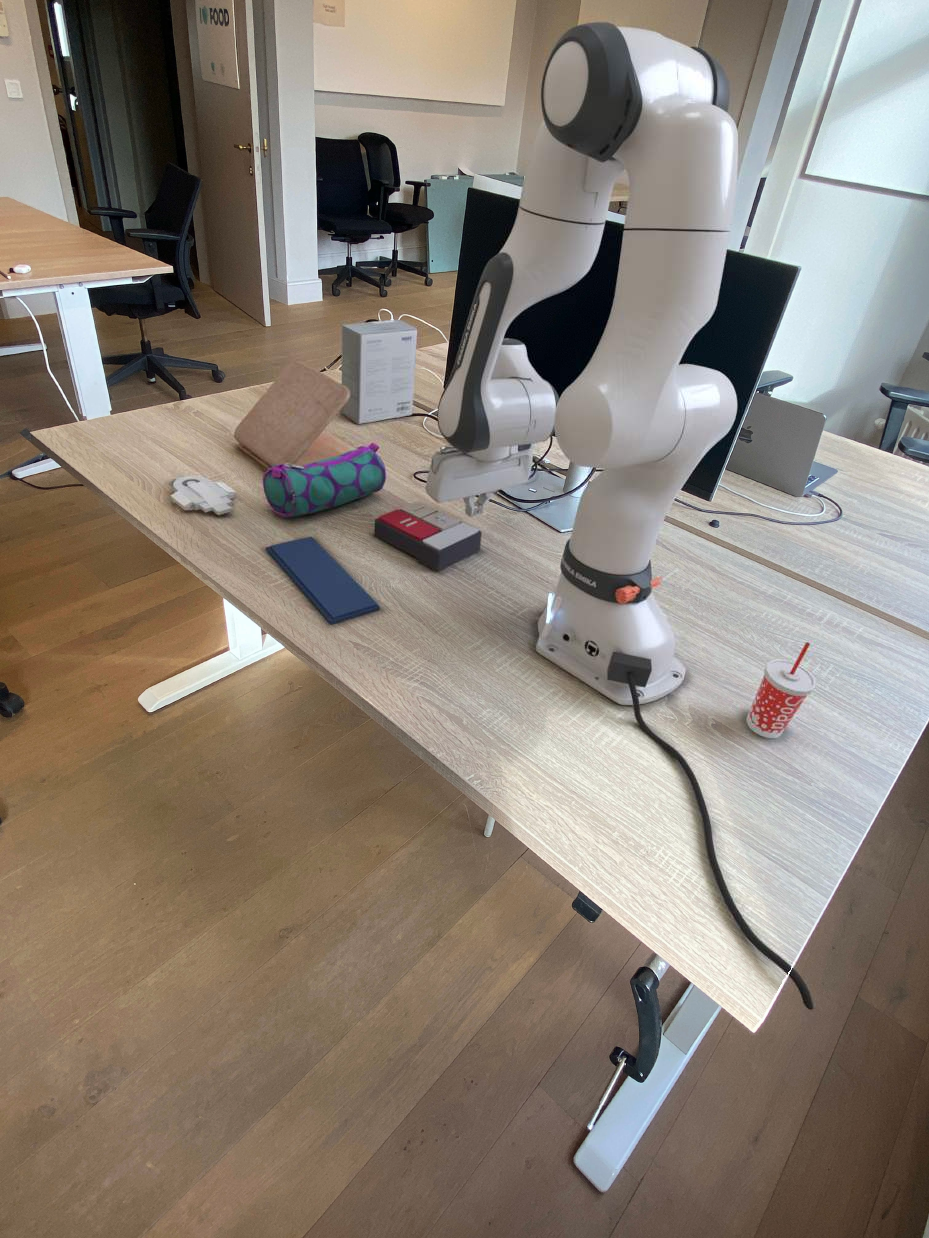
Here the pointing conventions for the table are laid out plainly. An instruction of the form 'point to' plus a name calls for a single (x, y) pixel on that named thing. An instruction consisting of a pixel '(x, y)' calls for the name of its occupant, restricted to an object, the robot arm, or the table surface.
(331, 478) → the pencil case
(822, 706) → the table surface
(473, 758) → the table surface
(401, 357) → the hard drive box
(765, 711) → the beverage cup
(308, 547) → the flat dark blue box
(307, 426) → the case
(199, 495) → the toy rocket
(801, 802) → the table surface
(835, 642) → the table surface
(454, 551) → the red and grey box
